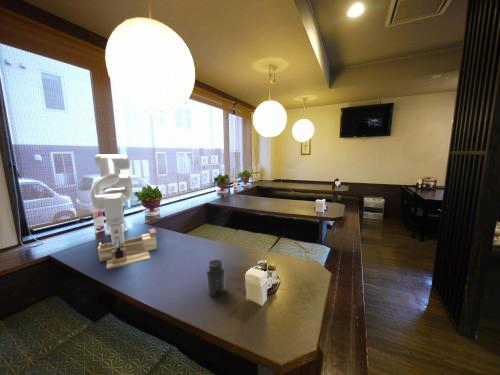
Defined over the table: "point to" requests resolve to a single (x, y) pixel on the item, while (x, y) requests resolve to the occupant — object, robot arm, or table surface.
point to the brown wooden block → (152, 232)
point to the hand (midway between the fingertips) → (119, 255)
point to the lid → (126, 259)
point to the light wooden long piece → (128, 246)
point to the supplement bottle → (215, 278)
